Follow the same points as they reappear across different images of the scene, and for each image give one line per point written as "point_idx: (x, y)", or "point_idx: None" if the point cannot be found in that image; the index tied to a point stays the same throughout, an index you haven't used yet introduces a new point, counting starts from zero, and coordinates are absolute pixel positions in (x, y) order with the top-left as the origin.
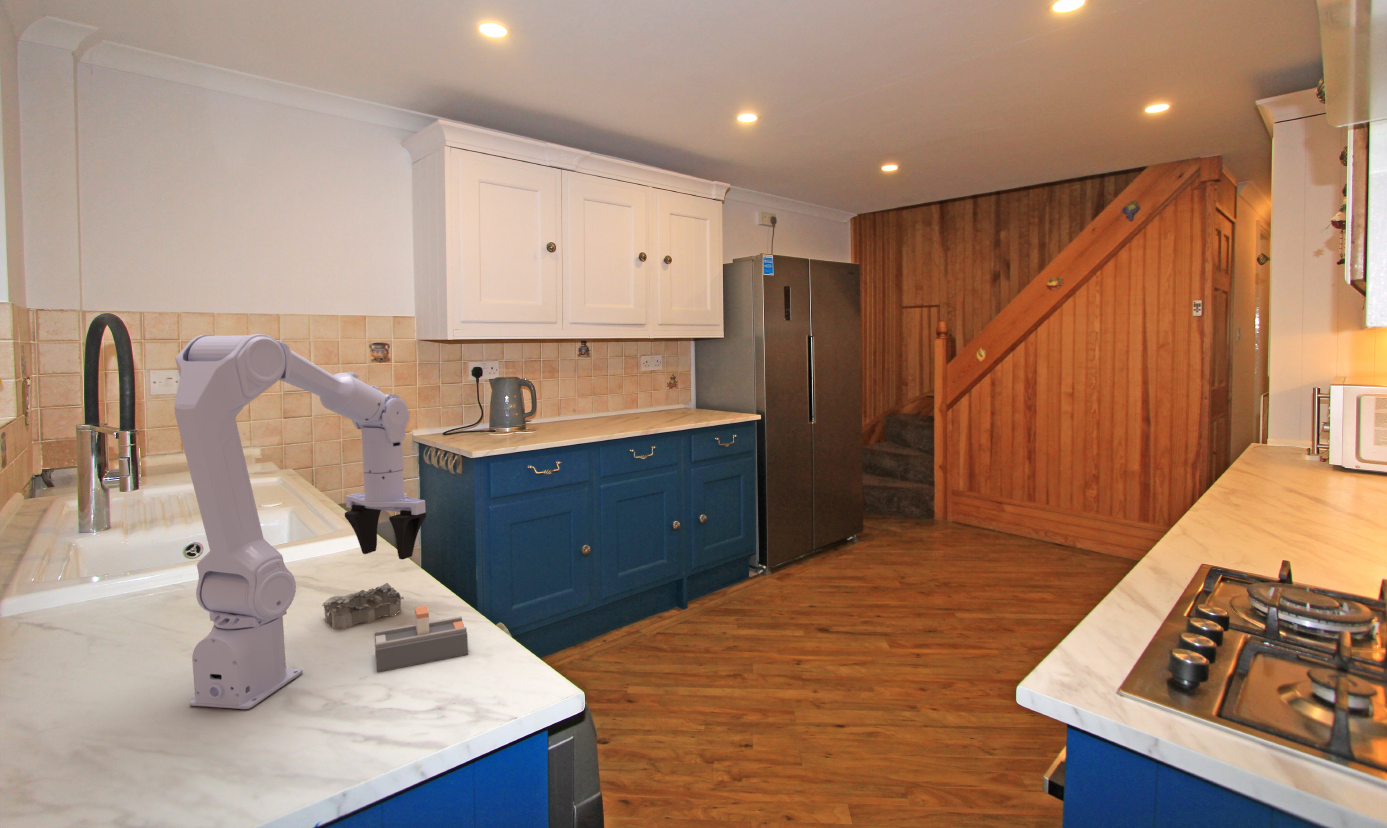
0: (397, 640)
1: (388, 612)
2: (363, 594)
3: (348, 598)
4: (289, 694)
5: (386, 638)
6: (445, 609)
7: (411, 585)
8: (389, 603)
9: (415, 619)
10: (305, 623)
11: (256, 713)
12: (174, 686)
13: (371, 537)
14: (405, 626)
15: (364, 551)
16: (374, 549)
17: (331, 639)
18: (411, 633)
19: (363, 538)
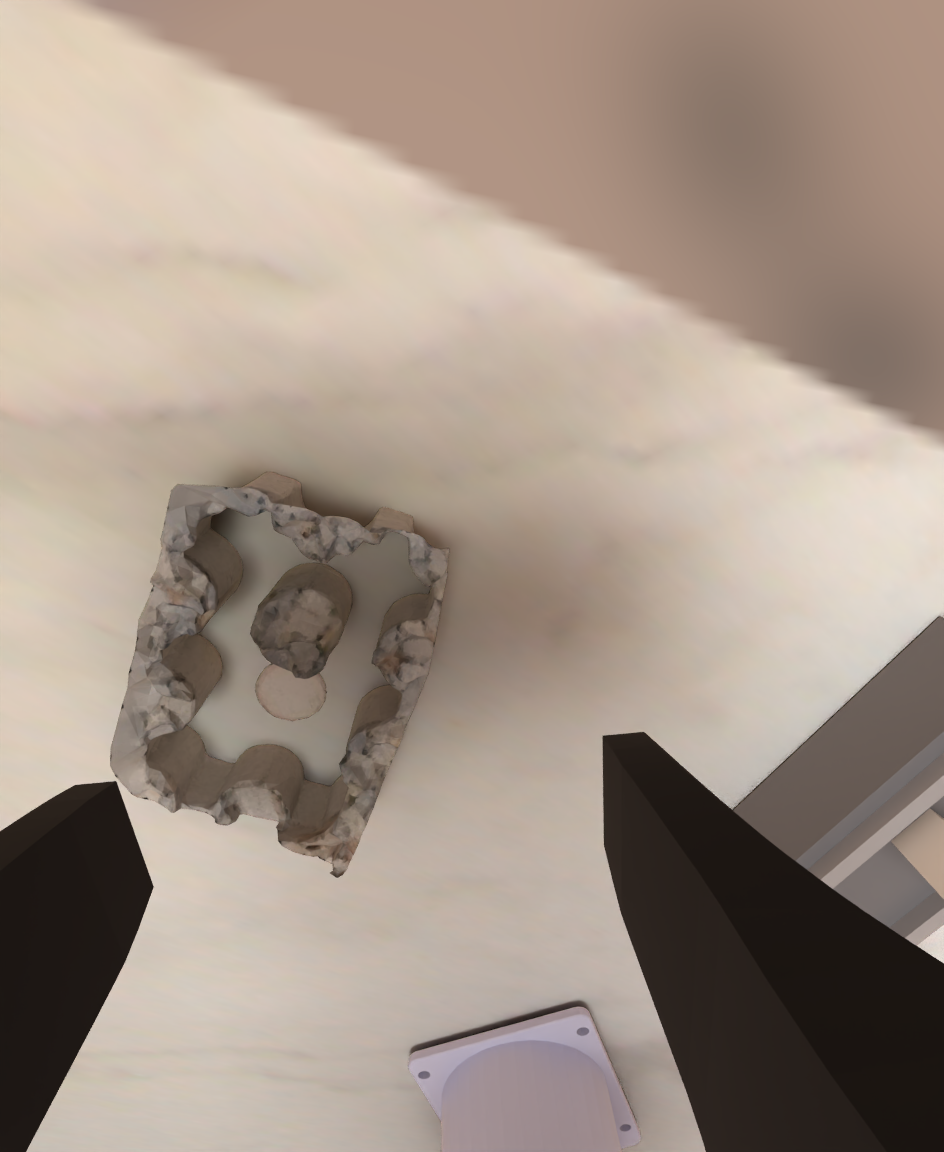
0: None
1: (414, 600)
2: (180, 624)
3: (170, 698)
4: (659, 1062)
5: None
6: (629, 388)
7: (47, 142)
8: (429, 627)
9: (921, 874)
10: (159, 805)
11: (666, 1123)
12: (327, 1148)
13: (11, 971)
14: (846, 862)
15: (135, 919)
16: (111, 809)
17: (423, 843)
18: (888, 861)
19: (40, 1084)
